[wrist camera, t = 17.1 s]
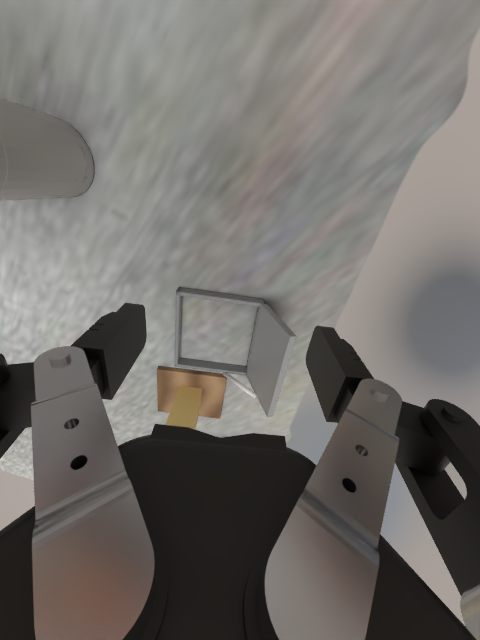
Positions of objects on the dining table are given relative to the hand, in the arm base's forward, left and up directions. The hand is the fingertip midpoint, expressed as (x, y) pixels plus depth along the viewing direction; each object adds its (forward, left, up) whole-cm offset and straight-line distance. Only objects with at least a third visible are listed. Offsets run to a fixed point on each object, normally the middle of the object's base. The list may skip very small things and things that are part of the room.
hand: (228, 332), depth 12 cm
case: (0, -19, -30) cm, 35 cm away
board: (-6, -34, -30) cm, 46 cm away
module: (-6, -34, -29) cm, 45 cm away
